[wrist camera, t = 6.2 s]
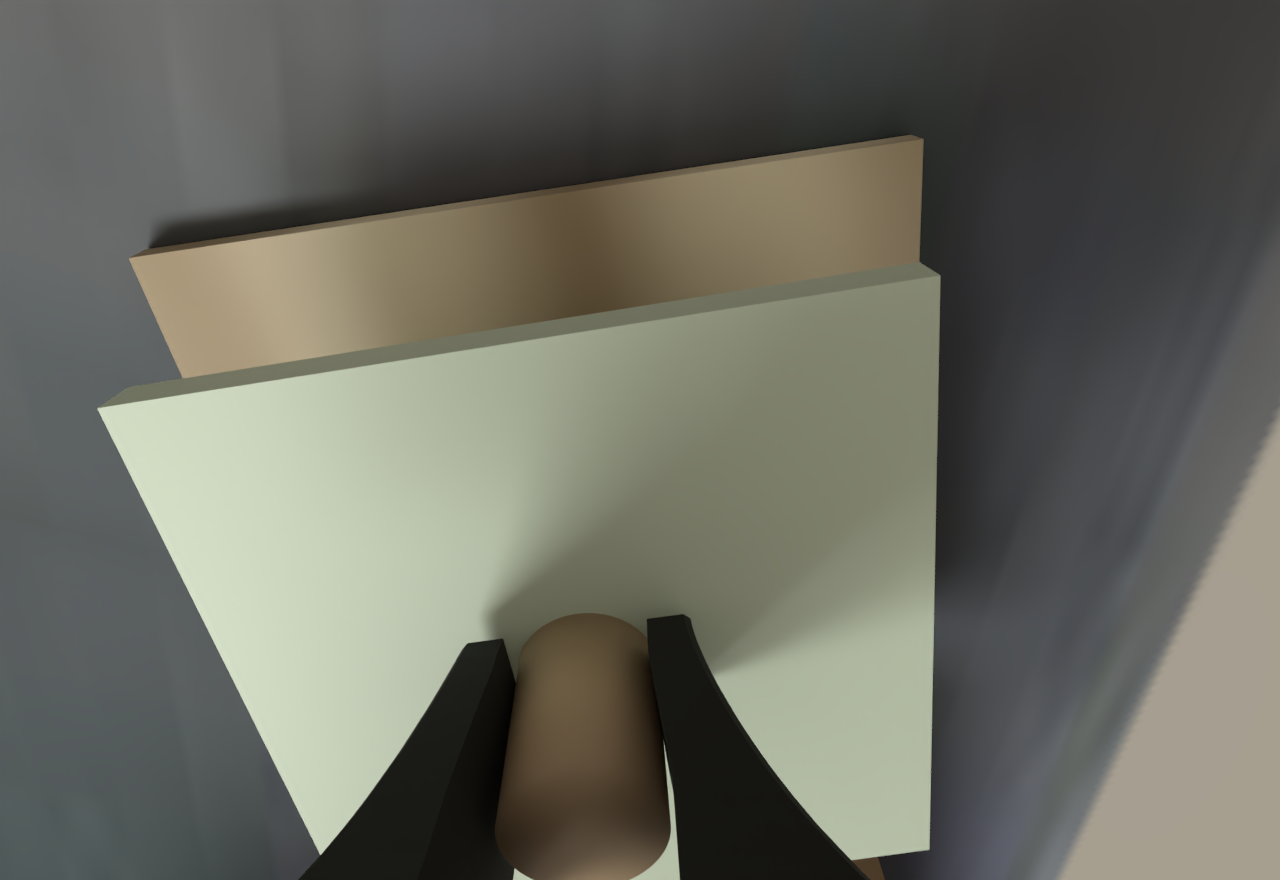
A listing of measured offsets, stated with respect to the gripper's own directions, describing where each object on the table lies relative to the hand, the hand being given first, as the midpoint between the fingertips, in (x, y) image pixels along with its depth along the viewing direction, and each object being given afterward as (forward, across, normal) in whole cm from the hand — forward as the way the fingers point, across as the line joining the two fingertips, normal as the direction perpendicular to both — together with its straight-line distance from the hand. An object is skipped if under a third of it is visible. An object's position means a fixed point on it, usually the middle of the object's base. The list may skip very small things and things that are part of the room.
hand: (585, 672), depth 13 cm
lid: (+1, 0, 0) cm, 1 cm away
